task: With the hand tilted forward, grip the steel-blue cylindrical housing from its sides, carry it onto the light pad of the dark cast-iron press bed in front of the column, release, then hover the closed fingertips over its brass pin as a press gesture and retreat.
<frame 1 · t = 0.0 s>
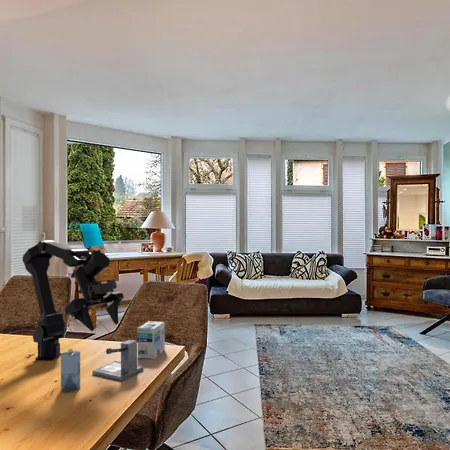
hand: (105, 327, 121), 15 cm above the table, tool tilted 35°, fingers open, 9 cm apart
light bulb box: (151, 354, 141), on the table
housing: (70, 388, 111), on the table
press bed: (118, 372, 123), on the table
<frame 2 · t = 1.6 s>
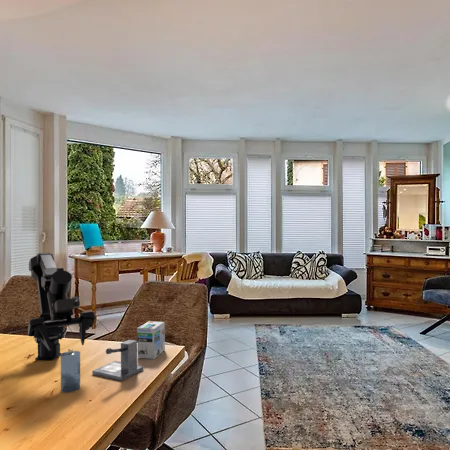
hand: (67, 347, 114), 11 cm above the table, tool tilted 45°, fingers open, 9 cm apart
nothing on the table moved.
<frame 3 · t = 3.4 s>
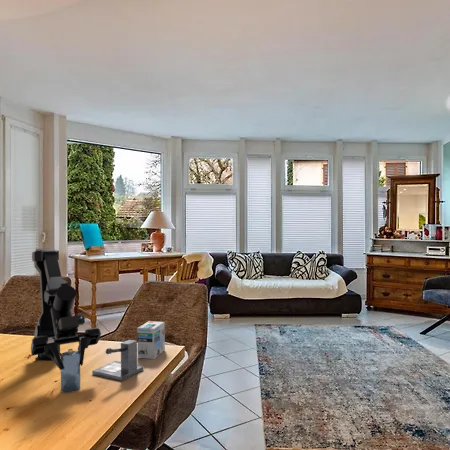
hand: (71, 366, 110), 7 cm above the table, tool tilted 45°, fingers closed on housing, 5 cm apart
housing: (70, 388, 111), on the table, touching gripper
everything else where it was.
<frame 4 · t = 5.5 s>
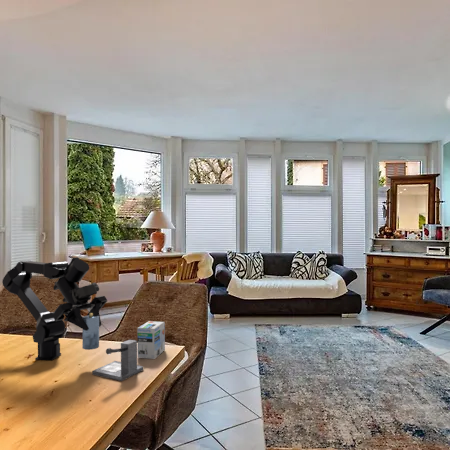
hand: (93, 327, 127), 13 cm above the table, tool tilted 45°, fingers closed on housing, 5 cm apart
housing: (90, 347, 128), point 7 cm above the table, touching gripper
everything else where it was.
when the fingers open (9 cm above the table, at t = 7.7 s): housing drops 1 cm, resting on press bed.
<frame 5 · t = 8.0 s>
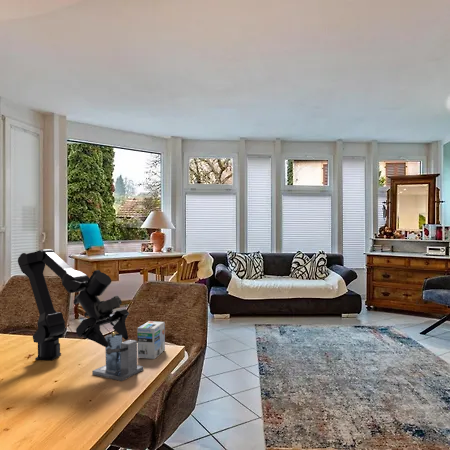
hand: (117, 342, 123), 9 cm above the table, tool tilted 45°, fingers open, 9 cm apart
housing: (114, 367, 124), point 1 cm above the table, touching press bed
everything else where it was.
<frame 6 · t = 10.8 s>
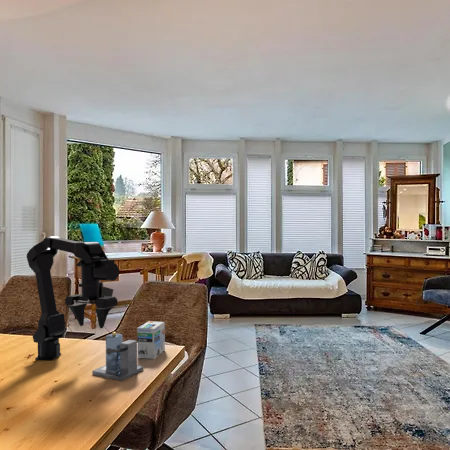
hand: (91, 326, 128), 13 cm above the table, tool pointing down, fingers open, 9 cm apart
nothing on the table moved.
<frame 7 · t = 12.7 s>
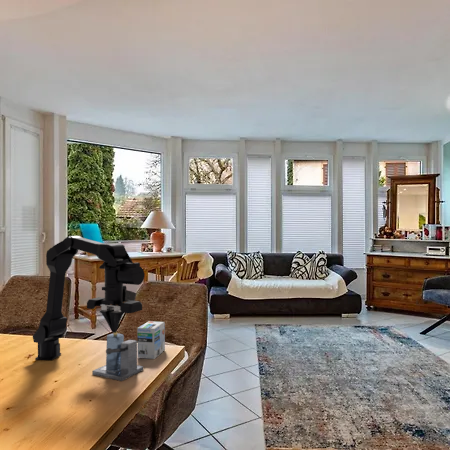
hand: (114, 331, 124), 13 cm above the table, tool pointing down, fingers closed, pressing on housing
housing: (114, 366, 124), point 1 cm above the table, touching gripper, press bed
everything else where it was.
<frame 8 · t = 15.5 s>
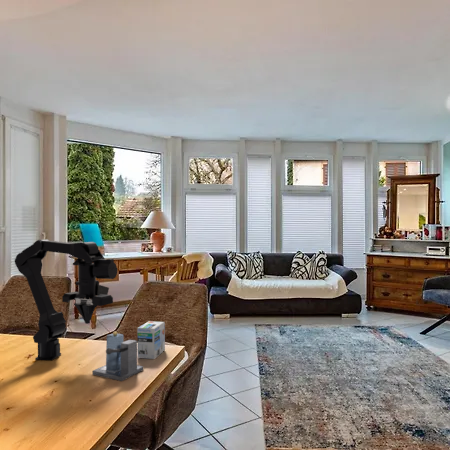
hand: (87, 323, 134), 13 cm above the table, tool pointing down, fingers closed
housing: (114, 367, 124), point 1 cm above the table, touching press bed
everything else where it was.
at the end: housing inside the target area on the press bed (0.3 cm from its centre), point 1.4 cm above the press bed's base; housing tilted 2° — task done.
